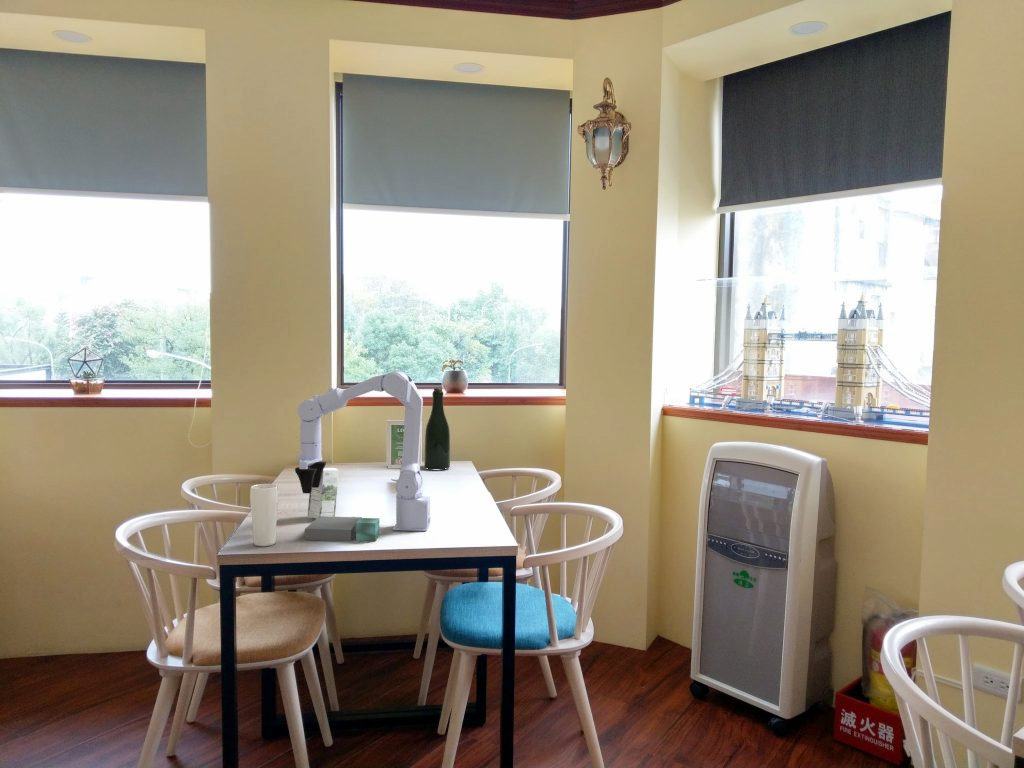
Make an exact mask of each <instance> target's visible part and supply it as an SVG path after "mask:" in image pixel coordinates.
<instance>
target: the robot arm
mask: <svg viewBox="0 0 1024 768" xmlns="http://www.w3.org/2000/svg"><path fill="white" fill-rule="evenodd" d="M373 391H375V392H380V393H383V392H385V393H387V394H388V395H389V396H391V397H394V398H396V399H397V400H398V401H399V402H400V403H401V405H403V406H404V408H405V409H404V423H403V437H402V438H403V439H402V441H403V442H402V455H401V465H400V469H399V470H400V471H399V477H398V478H397V480H396V483H395V491H396V496H395V497H396V499H395V500H396V501H395V502H396V504H395V505H396V510H395V511H396V512H395V513H396V514H395V524H394V526H393V528H392V530H393V531H409V532H410V531H411V532H412V531H413V532H414V531H417V532H419V531H420V532H422V531H423V532H427V530H428V529H429V527H430V525H431V498H430V496H425V495H423V492H422V491H421V490H420V488H421V487H422V485H423V475H422V474H421V464H420V456H421V454H420V453H421V439H422V421H423V408H424V406H423V405H424V399H423V396H422V395H421V393H420V392H419V390H418V387H417V386H416V384H415V382H414V379H413V378H412V377H411V376H410V375H409V374H407V373H406V372H405V371H403V370H395V371H391V372H388V373H384V374H381V375H380V374H379V375H376V376H372V377H370V378H368V379H365V380H363V381H361V382H359V383H356V384H355V385H352V386H350V387H348V388H346V389H342V388H340V387H336V388H335V387H330V388H328V391H327V392H323V393H321V394H319V395H318V394H315V395H312V398H310V399H305V400H304V401H302V402H301V403H300V404H299V405H298V407H297V414H298V417H299V418H300V419H299V420H300V424H299V425H300V426H299V428H300V433H299V434H300V435H299V437H300V438H299V443H300V445H299V446H300V447H299V453H300V455H299V456H297V457H296V458H295V460H296V461H298V462H299V463H298V464H299V466H296V467H295V468H294V472H295V474H296V475H297V477H298V480H299V483H300V487H301V488H300V489H301V491H302V494H310V493H311V491H312V488H318V487H319V485H320V480H321V475H322V472H323V469H324V467H326V465H327V461H323V456H322V417H323V415H324V416H326V415H328V414H331V413H332V412H335V411H338V410H340V409H343V408H345V407H347V404H348V402H349V401H350V400H352V399H355V398H357V397H360V396H362V395H365V394H367V393H370V392H373Z"/></svg>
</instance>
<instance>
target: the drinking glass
mask: <svg viewBox="0 0 1024 768" xmlns="http://www.w3.org/2000/svg"><path fill="white" fill-rule="evenodd" d="M249 495H250V497H249V500H250V501H249V502H250V514H251V525H252V534H253V545H255V546H256V547H261V548H262V547H269V546H273V545H275V543H276V541H277V540H276V539H277V536H276V534H277V522H278V521H277V520H278V511H279V485H278V484H275V483H260V484H258V483H257V484H254V485H251V486H250V492H249Z"/></svg>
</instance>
